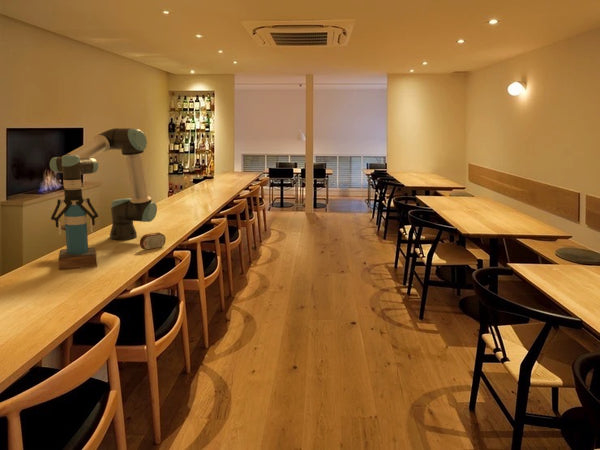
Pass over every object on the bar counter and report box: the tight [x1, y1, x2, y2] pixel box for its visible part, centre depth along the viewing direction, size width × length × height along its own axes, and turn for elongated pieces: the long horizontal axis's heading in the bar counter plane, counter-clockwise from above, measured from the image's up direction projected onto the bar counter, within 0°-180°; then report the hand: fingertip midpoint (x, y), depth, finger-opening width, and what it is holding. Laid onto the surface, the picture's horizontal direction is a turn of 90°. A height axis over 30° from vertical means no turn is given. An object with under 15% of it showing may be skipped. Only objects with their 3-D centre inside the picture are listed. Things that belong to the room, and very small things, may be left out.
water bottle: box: [63, 200, 89, 254], centre depth 230 cm, size 9×9×25 cm
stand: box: [57, 246, 98, 271], centre depth 233 cm, size 16×16×6 cm
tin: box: [139, 232, 166, 251], centre depth 265 cm, size 15×3×8 cm, turn 141°
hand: (76, 233), depth 231 cm, fingers open, 13 cm apart
